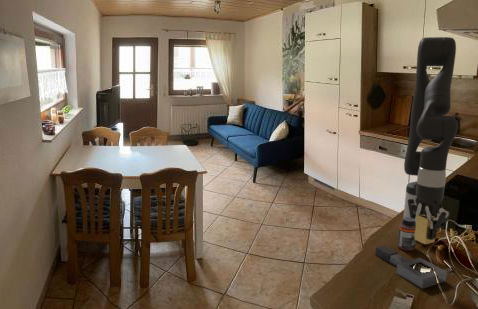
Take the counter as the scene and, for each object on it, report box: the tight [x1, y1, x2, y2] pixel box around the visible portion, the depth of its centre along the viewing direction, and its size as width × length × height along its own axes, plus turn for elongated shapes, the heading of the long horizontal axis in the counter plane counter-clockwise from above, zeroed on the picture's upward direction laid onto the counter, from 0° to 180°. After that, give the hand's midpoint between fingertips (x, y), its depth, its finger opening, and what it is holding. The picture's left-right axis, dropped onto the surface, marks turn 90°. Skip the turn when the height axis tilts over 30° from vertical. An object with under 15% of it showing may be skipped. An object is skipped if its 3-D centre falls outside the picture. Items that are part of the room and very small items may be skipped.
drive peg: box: [414, 214, 436, 245], centre depth 121 cm, size 4×4×8 cm
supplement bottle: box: [397, 216, 417, 252], centre depth 143 cm, size 6×6×11 cm
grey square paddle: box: [375, 244, 448, 289], centre depth 129 cm, size 10×22×3 cm, turn 24°
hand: (424, 236), depth 121 cm, fingers closed on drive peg, 4 cm apart
